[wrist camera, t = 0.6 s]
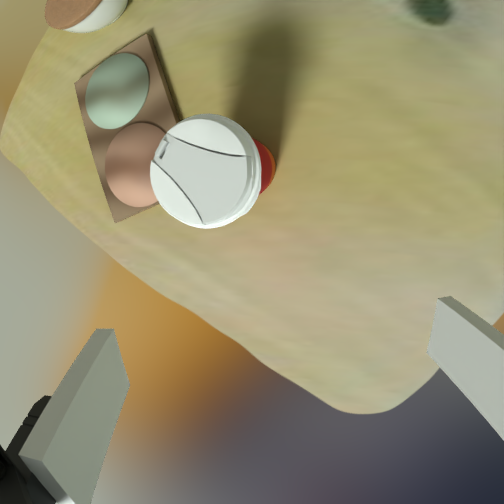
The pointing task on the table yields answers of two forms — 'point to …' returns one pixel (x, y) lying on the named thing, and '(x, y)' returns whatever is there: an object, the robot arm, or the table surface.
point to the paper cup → (209, 171)
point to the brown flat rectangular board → (126, 123)
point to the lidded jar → (83, 14)
